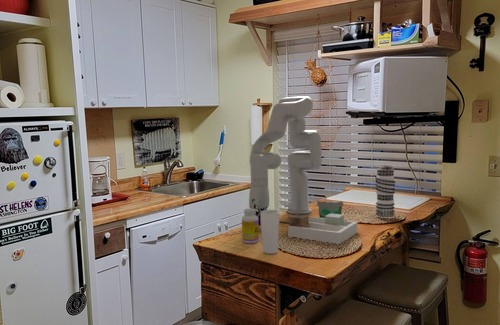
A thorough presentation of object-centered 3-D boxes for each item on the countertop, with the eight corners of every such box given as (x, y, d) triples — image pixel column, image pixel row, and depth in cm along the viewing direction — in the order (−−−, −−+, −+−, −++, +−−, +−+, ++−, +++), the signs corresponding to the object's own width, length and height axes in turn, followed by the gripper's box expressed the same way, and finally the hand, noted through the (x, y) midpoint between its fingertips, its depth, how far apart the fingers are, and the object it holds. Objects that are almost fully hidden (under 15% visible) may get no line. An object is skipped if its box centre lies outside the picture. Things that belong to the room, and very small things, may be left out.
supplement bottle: (256, 244, 162) (255, 211, 160) (240, 243, 163) (239, 211, 162) (260, 239, 168) (260, 208, 167) (245, 238, 170) (244, 207, 169)
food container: (314, 223, 192) (314, 202, 191) (317, 220, 198) (317, 199, 197) (341, 225, 188) (341, 203, 187) (343, 222, 194) (343, 200, 193)
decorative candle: (372, 215, 206) (373, 165, 204) (391, 215, 206) (392, 164, 203) (377, 219, 197) (378, 167, 195) (397, 219, 197) (398, 166, 194)
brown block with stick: (253, 226, 183) (253, 212, 182) (260, 223, 188) (260, 210, 187) (302, 232, 170) (301, 218, 169) (308, 229, 175) (308, 215, 174)
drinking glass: (266, 256, 147) (265, 214, 145) (258, 251, 153) (257, 210, 152) (283, 253, 149) (282, 212, 148) (274, 248, 156) (273, 208, 154)
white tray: (288, 236, 171) (288, 226, 170) (309, 226, 187) (309, 216, 187) (339, 244, 159) (339, 232, 158) (357, 232, 175) (357, 221, 175)
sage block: (325, 230, 174) (325, 216, 174) (330, 227, 179) (330, 213, 179) (338, 232, 171) (338, 217, 170) (344, 228, 176) (344, 214, 175)
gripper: (262, 179, 192) (263, 218, 193) (241, 184, 178) (242, 226, 180) (276, 180, 187) (277, 220, 189) (256, 185, 174) (257, 228, 176)
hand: (260, 223), depth 184 cm, fingers closed on brown block with stick, 3 cm apart
